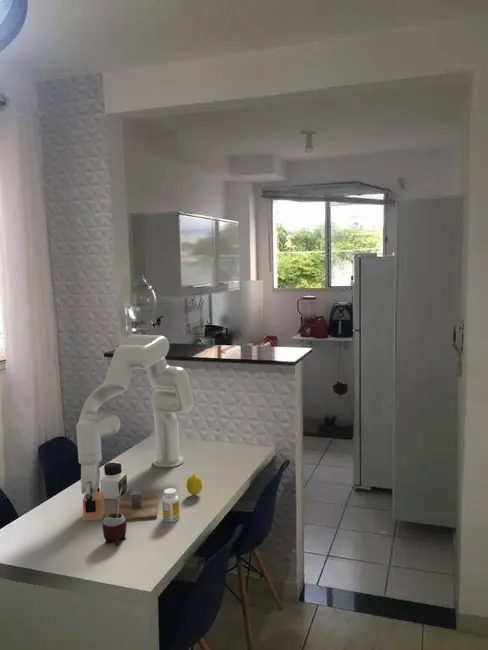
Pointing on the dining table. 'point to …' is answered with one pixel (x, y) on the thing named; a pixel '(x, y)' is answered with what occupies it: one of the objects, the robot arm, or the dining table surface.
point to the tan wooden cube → (99, 507)
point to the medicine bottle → (113, 481)
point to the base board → (145, 512)
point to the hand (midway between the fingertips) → (93, 505)
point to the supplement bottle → (170, 505)
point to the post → (136, 499)
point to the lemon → (194, 484)
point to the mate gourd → (114, 526)
